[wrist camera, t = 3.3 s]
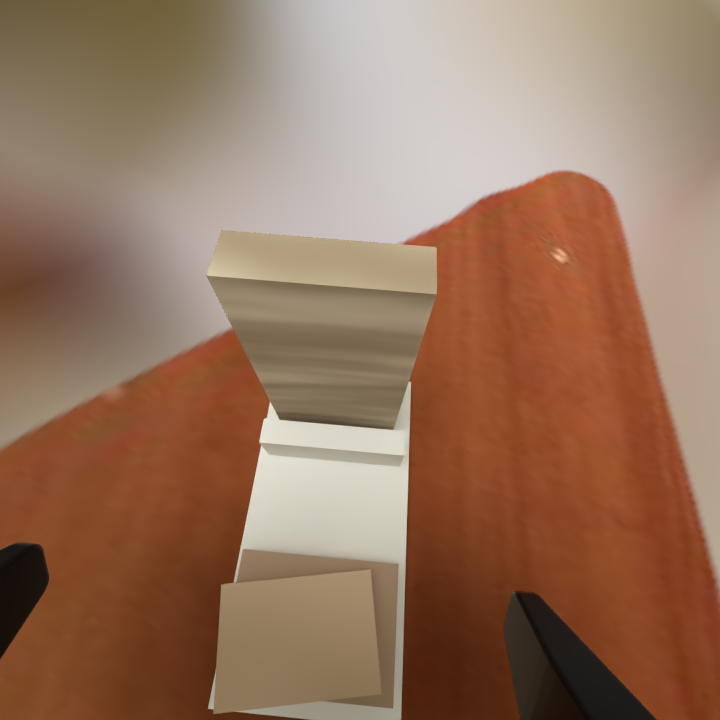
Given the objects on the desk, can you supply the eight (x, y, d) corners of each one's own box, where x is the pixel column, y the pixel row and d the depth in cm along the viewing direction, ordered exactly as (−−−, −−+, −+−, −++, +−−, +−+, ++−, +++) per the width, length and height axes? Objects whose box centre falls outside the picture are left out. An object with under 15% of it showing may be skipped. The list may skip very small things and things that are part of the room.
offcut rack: (398, 720, 17) (410, 762, 13) (215, 701, 17) (179, 737, 14) (408, 388, 24) (418, 358, 21) (279, 377, 24) (266, 345, 21)
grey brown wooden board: (391, 436, 22) (436, 294, 10) (283, 426, 22) (206, 275, 10) (392, 409, 22) (436, 247, 11) (288, 400, 23) (221, 230, 11)
